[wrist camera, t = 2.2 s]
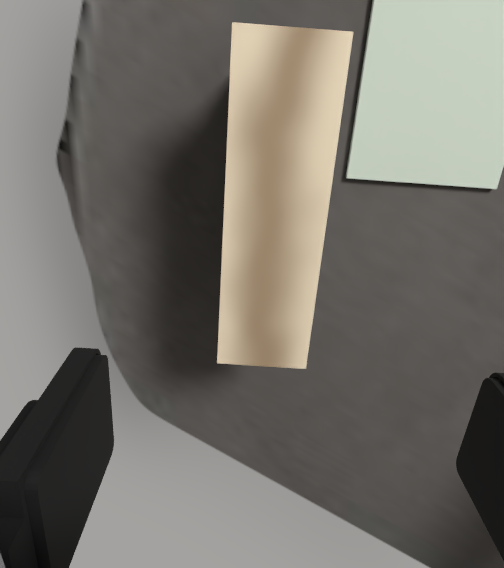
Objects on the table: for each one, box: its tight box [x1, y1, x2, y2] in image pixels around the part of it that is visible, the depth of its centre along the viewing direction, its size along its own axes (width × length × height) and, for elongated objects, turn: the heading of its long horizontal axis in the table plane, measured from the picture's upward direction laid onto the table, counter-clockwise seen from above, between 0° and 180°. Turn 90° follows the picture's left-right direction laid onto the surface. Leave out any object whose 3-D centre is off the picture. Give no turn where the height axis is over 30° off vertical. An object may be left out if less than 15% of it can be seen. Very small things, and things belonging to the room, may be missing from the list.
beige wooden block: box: [217, 22, 353, 369], centre depth 28 cm, size 6×20×3 cm, turn 176°
